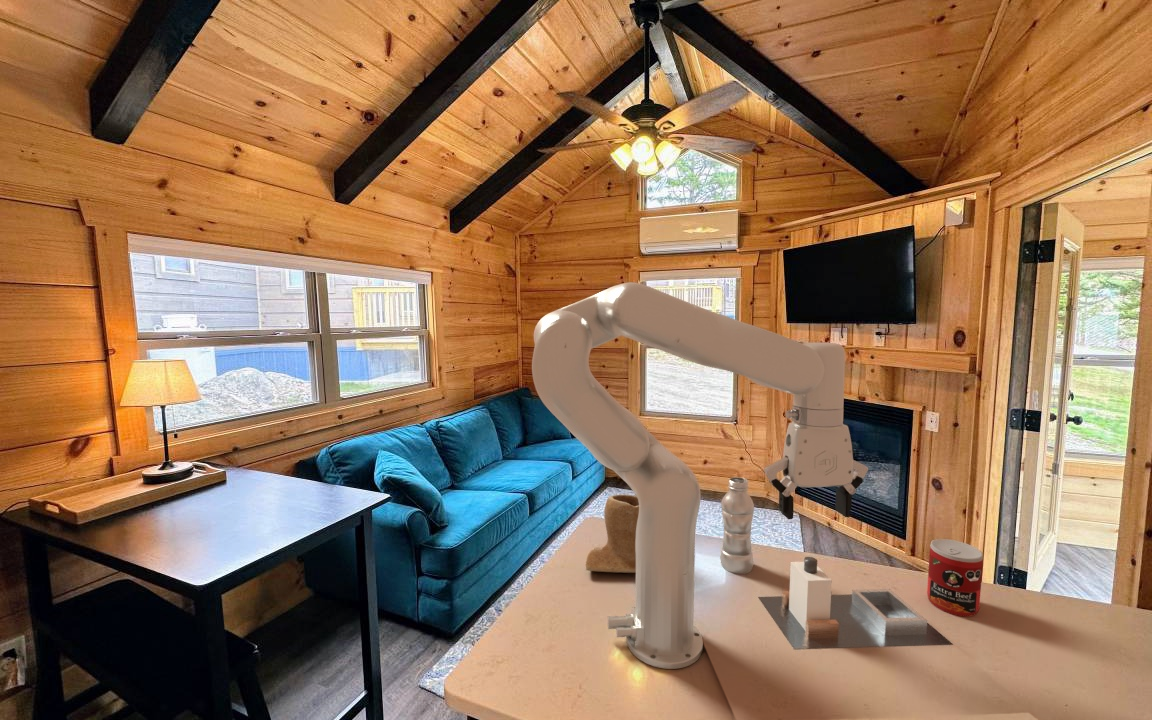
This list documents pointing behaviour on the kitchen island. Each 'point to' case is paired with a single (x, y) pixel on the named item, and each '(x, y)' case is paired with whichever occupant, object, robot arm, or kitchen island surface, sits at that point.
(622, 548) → the tan suede boot
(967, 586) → the canned food
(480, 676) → the kitchen island surface
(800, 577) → the plug
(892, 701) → the kitchen island surface
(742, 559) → the plastic bottle
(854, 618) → the panel
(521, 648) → the kitchen island surface
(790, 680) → the kitchen island surface
